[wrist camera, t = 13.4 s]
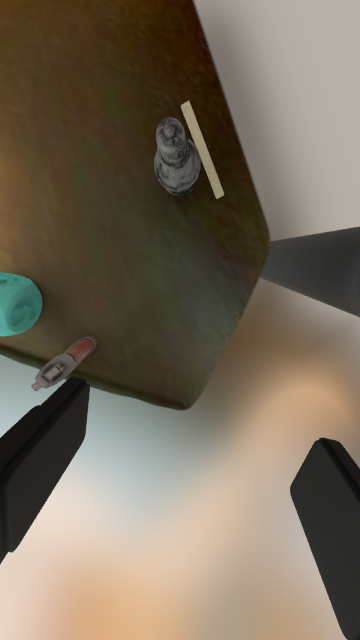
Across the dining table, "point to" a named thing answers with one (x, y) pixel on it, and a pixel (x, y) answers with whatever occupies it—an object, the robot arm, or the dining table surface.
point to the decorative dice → (18, 304)
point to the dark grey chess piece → (176, 158)
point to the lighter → (64, 363)
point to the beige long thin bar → (202, 149)
